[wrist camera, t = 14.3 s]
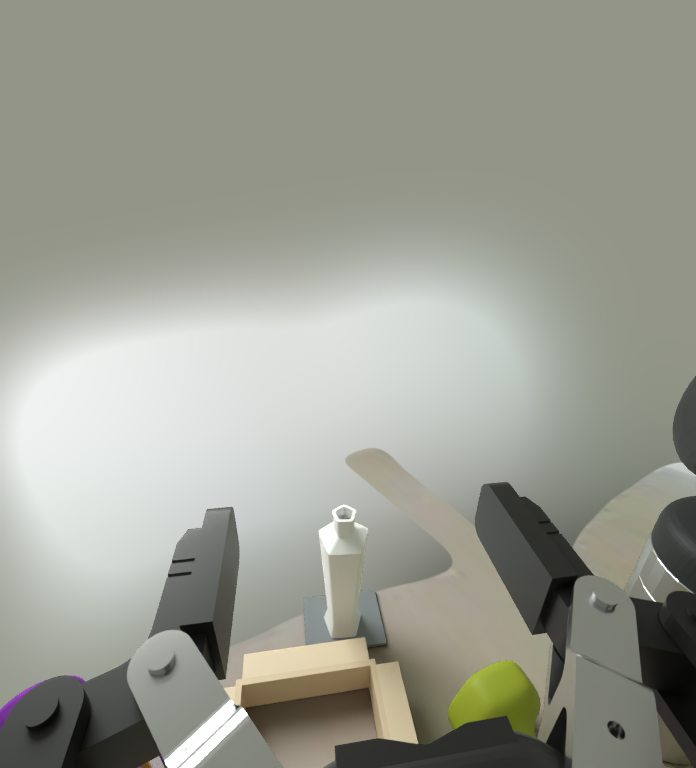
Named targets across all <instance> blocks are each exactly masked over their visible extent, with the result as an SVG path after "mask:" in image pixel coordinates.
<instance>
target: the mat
mask: <svg viewBox="0 0 696 768" xmlns="http://www.w3.org/2000/svg"><path fill="white" fill-rule="evenodd" d="M303 602H304V621H305V639H306V645H313V644H320V643H327V642H334V641H341V640H347V639H354V638H361V637H365V640H366V645H367V648H369V647H376V646H382V645H386V644H387V642H386V637H385V633H384V629H383V624H382V620H381V616H380V611H379V607H378V603H377V598H376V594H375V590H374V589H369V590H360V594H359V602H358V609H359V612H360V614H361V617H360V622H359V626H358V630H357V634H356V636H355V637H347V638H332V637H331V636H330V633H329V630H328V628H327V625H326V622H325V619H324V616H325V613H326V611H327V599H326V595H321V596H314V597H306V598H303Z"/></svg>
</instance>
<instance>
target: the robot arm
mask: <svg viewBox="0 0 696 768" xmlns="http://www.w3.org/2000/svg"><path fill="white" fill-rule="evenodd" d="M673 441H674V444H675V448H676V451H677V453H678V455H679V458H680V459H681V461H682V462H683V463H684V465H685V466H686V467H687V468H688V469H689V470H690V471H691V472H693V473H694V474H696V376H695V378H694V379H693V380H692V382H691V383H690V384H689V386H688V388H687V389H686V391H685V392H684V394H683V396H682V398H681V400H680V402H679V405H678V407H677V410H676V413H675V417H674V422H673ZM475 526H476V531H477V534H478V537H479V539H480V541H481V543H482V544H483V546H484V548H485V550H486V552H487V554H488V555H489V557H490V559H491V561H492V563H493V564H494V566H495V568H496V570H497V572H498V574H499V575H500V577H501V579H502V581H503V583H504V584H505V586H506V588H507V590H508V592H509V594H510V595H511V597H512V599H513V601H514V603H515V604H516V606H517V608H518V610H519V612H520V614H521V615H522V617H523V619H524V621H525V623H526V624H527V626H528V628H529V630H530V632H531V634H532V635H535V634H541V633H547V634H548V636H549V637H550V639H551V641H552V642H551V644H550V648H549V658H548V668H547V678H546V688H545V698H544V708H543V715H542V720H541V724H540V728H539V732H538V737H537V738H535V737H532V736H530V735H528V734H525V733H521V732H518V731H513V729H512V726H511V724H510V722H509V719H508V717H507V716H502V717H496V718H490V719H485V720H479V721H473V722H468V723H465V724H463V725H462V726H460V727H458V728H457V729H455V730H453V731H451V732H450V733H448V734H446V735H444V736H443V737H441V738H439V739H438V740H436V741H434V742H432V743H430V744H427V745H421V744H415V743H408V742H401V741H395V740H388V739H382V738H377V739H371V740H366V741H360V742H354V743H349V744H343V745H337V746H335V761H333V762H332V763H330V764H328V765H327V766H325V767H324V768H663V761H666V762H669V763H673V764H681V765H689V764H692V766H693V767H694V768H696V496H691V497H685V498H681V499H678V500H676V501H674V502H672V503H670V504H669V505H668V506H666V507H665V509H664V510H663V511H662V513H661V514H660V516H659V518H658V520H657V522H656V524H655V526H654V528H653V530H652V532H651V534H650V536H649V538H648V540H647V542H646V545H645V547H644V549H643V551H642V553H641V555H640V557H639V560H638V562H637V564H636V566H635V568H634V570H633V572H632V574H631V576H630V578H629V580H628V582H627V584H626V587H625V589H624V591H623V590H622V589H621V588H620V587H618V586H617V585H615V584H614V583H612V582H610V581H609V580H606V579H604V578H601V577H598V576H594V575H593V574H592V572H591V571H590V570H589V569H588V567H587V566H586V565H585V564H584V562H583V561H582V560H581V558H580V557H579V556H578V555H577V553H576V552H575V551H574V550H573V548H572V547H571V546H570V545H569V543H568V542H567V541H566V539H565V538H564V537H563V536H562V534H559V531H558V529H557V528H556V527H555V526H554V524H553V523H551V522H550V519H549V518H548V517H547V515H546V514H545V513H544V512H543V510H542V509H541V508H540V507H539V506H538V505H536V504H535V503H533V502H532V501H531V500H529V499H528V498H526V497H519V496H518V494H517V493H516V492H515V490H514V489H513V488H512V486H511V485H510V484H509V483H507V482H502V483H491V484H484V485H483V486H482V488H481V493H480V497H479V502H478V507H477V512H476V517H475ZM238 568H239V541H238V534H237V528H236V522H235V515H234V510H233V507H226V508H215V509H207V511H206V513H205V518H204V522H203V526H202V528H196V529H188V530H187V532H186V533H185V534H184V536H183V537H182V538H181V540H180V541H179V542H178V543H177V545H176V549H175V552H174V556H173V559H172V564H171V566H170V570H169V573H168V578H167V580H166V583H165V587H164V590H163V593H162V597H161V600H160V603H159V607H158V610H157V614H156V617H155V621H154V624H153V627H152V630H151V633H150V635H149V637H148V639H147V641H145V642H144V643H143V644H142V645H141V646H140V647H139V648H138V649H137V651H136V652H135V654H134V655H133V657H132V658H131V659H130V660H128V661H127V662H125V663H124V664H122V665H121V666H119V667H117V668H115V669H113V670H111V671H109V672H106V673H104V674H102V675H100V676H98V677H95V678H93V679H91V680H89V681H86V682H84V683H82V684H81V683H80V681H79V680H78V679H76V678H75V677H72V676H58V677H54V678H51V679H48V680H46V681H44V682H42V683H40V684H39V685H37V686H36V687H34V688H33V689H31V690H30V691H29V692H28V693H26V694H25V695H24V696H23V697H22V698H21V699H20V700H19V701H18V702H17V703H16V705H15V706H14V707H13V708H12V710H11V711H10V713H9V714H8V716H7V718H6V720H5V722H4V724H3V726H2V728H1V730H0V768H138V767H139V766H141V765H143V764H145V763H147V762H148V761H150V760H152V759H154V758H156V757H157V756H160V758H161V761H162V763H163V765H164V767H165V768H283V767H282V765H281V764H280V762H279V761H278V759H277V758H276V756H275V755H274V753H273V752H272V750H271V749H270V747H269V746H268V744H267V743H266V741H265V740H264V738H263V737H262V735H261V734H260V732H259V731H258V729H257V728H256V726H255V725H254V723H253V722H252V720H251V719H250V717H249V716H248V714H247V713H246V712H245V710H244V709H243V708H242V707H241V706H240V705H235V704H234V703H233V701H232V700H231V699H230V697H229V696H228V694H227V693H226V691H225V690H224V688H223V686H222V685H221V683H220V682H219V680H222V679H226V672H227V663H228V654H229V646H230V637H231V628H232V620H233V611H234V601H235V594H236V585H237V576H238ZM662 760H663V761H662Z"/></svg>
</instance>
